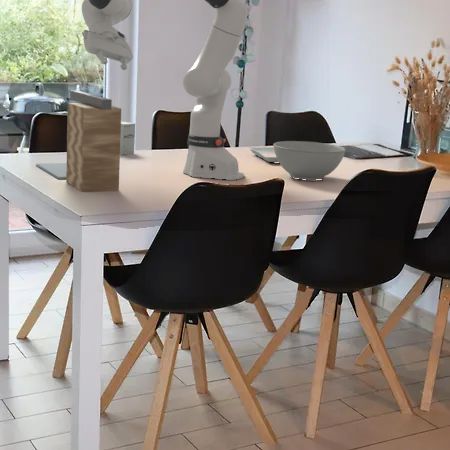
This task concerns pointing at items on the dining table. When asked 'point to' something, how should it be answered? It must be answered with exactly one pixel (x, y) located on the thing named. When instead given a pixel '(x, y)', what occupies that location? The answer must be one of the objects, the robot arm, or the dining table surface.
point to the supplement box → (127, 138)
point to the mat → (54, 169)
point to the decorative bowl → (308, 158)
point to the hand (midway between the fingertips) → (114, 66)
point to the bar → (91, 99)
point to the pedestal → (93, 147)
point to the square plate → (264, 150)
